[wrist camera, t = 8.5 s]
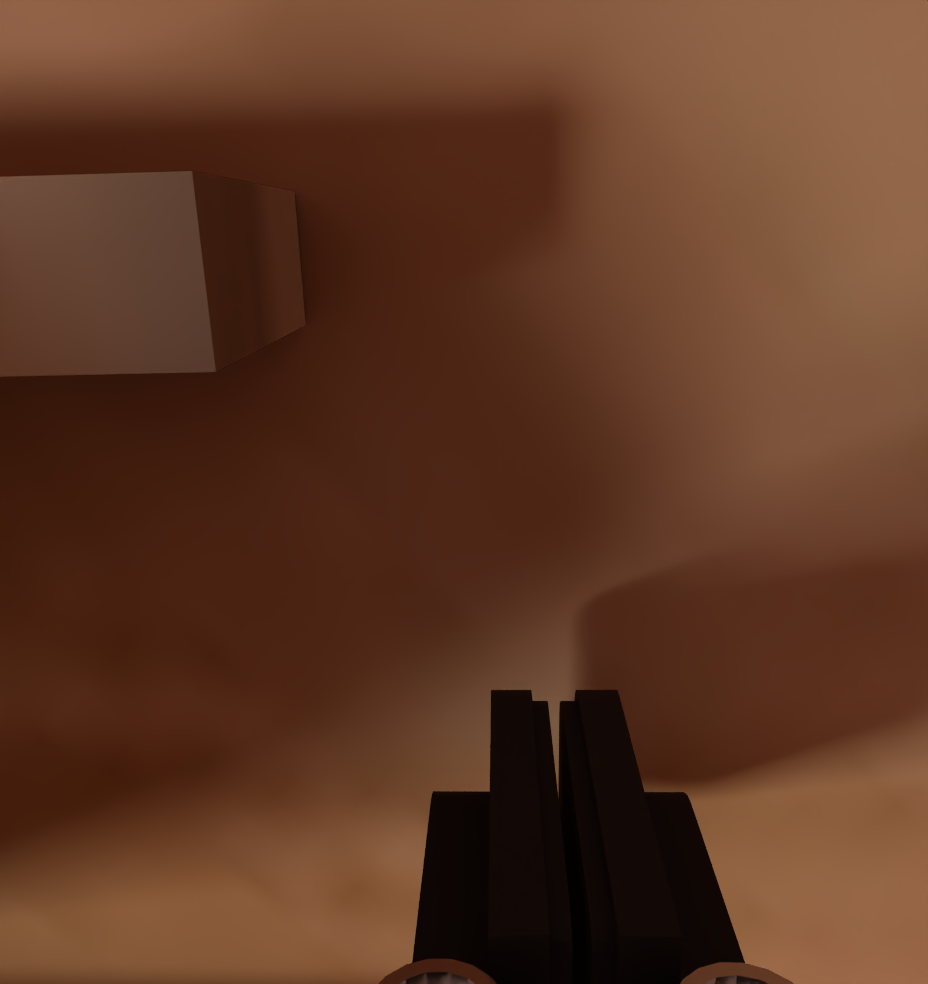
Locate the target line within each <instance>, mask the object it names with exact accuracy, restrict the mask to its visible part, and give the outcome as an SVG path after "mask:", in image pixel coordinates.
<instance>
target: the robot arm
mask: <svg viewBox="0 0 928 984" xmlns="http://www.w3.org/2000/svg"><path fill="white" fill-rule="evenodd" d="M379 984H794V983H792V982H791V981H789V980H787V979H785V978H783V977H781V976H779V975H778V974H776V973H774V972H772V971H770V970H768V969H765V968H761V967H757V966H753V965H750V964H746V963H745V962H744V959H743V956H742V953H741V950H740V947H739V944H738V941H737V938H736V935H735V932H734V929H733V926H732V923H731V920H730V917H729V914H728V911H727V908H726V905H725V902H724V899H723V897H722V894H721V891H720V888H719V885H718V882H717V879H716V876H715V873H714V870H713V867H712V864H711V861H710V858H709V855H708V852H707V849H706V846H705V843H704V840H703V837H702V834H701V831H700V828H699V826H698V823H697V820H696V817H695V814H694V811H693V808H692V805H691V802H690V800H689V798H688V796H687V795H686V794H685V793H684V792H644V789H643V785H642V781H641V777H640V773H639V770H638V766H637V762H636V758H635V754H634V750H633V747H632V743H631V739H630V735H629V731H628V728H627V724H626V720H625V716H624V712H623V708H622V705H621V701H620V697H619V694H618V691H617V690H576V692H575V701H560V713H559V798H558V792H557V782H556V773H555V764H554V755H553V745H552V736H551V727H550V717H549V708H548V701H532V692H531V690H491V744H490V792H440V791H433V793H432V798H431V805H430V814H429V822H428V831H427V840H426V848H425V857H424V866H423V874H422V883H421V892H420V901H419V909H418V918H417V927H416V935H415V944H414V953H413V961H412V963H410V964H406V965H404V966H403V967H401V968H399V969H397V970H396V971H394V972H392V973H391V974H389V975H387V976H386V977H385V978H384V979H383V980H382V981H381V982H380V983H379Z"/></svg>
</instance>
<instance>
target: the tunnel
mask: <svg viewBox="0 0 928 984" xmlns="http://www.w3.org/2000/svg"><path fill="white" fill-rule="evenodd" d="M305 325H306V322H305V310H304V298H303V286H302V274H301V262H300V250H299V238H298V227H297V215H296V203H295V191H291V190H286V189H281V188H276V187H271V186H266V185H261V184H255V183H250V182H245V181H240V180H235V179H230V178H225V177H220V176H215V175H210V174H205V173H200V172H195V171H174V172H141V173H108V174H75V175H42V176H9V177H0V377H4V376H51V375H97V374H143V373H190V372H217V371H219V370H221V369H222V368H224V367H226V366H228V365H230V364H232V363H234V362H236V361H238V360H240V359H242V358H244V357H245V356H247V355H249V354H251V353H253V352H255V351H257V350H259V349H261V348H263V347H265V346H267V345H269V344H270V343H272V342H274V341H276V340H278V339H280V338H282V337H284V336H286V335H288V334H290V333H292V332H293V331H295V330H297V329H299V328H301V327H303V326H305Z"/></svg>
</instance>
